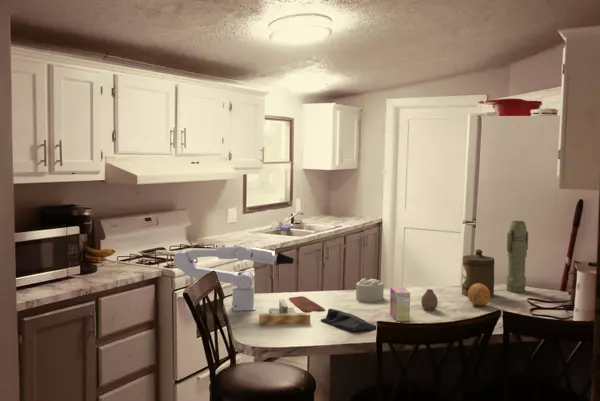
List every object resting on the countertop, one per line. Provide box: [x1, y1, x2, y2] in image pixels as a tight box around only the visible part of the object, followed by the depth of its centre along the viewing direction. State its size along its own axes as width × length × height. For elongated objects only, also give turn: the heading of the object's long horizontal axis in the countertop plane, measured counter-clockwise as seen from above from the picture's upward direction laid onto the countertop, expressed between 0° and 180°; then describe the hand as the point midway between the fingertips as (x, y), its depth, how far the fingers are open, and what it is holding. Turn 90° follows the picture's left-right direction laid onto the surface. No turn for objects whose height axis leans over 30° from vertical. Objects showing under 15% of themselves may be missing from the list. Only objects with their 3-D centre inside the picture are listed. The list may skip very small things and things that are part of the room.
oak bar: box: [258, 312, 311, 327], centre depth 219 cm, size 20×3×4 cm, turn 98°
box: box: [389, 286, 411, 322], centre depth 228 cm, size 10×6×12 cm, turn 5°
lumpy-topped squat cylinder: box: [355, 277, 385, 302], centre depth 260 cm, size 10×13×9 cm
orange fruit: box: [467, 283, 491, 307], centre depth 248 cm, size 10×10×10 cm
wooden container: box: [461, 249, 495, 298], centre depth 268 cm, size 15×15×22 cm
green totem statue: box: [505, 220, 529, 294], centre depth 276 cm, size 9×12×35 cm
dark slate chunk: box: [320, 308, 377, 332], centre depth 219 cm, size 15×22×5 cm
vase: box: [421, 288, 439, 312], centre depth 241 cm, size 7×7×9 cm
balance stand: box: [269, 298, 296, 314], centre depth 231 cm, size 10×14×5 cm
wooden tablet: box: [288, 295, 326, 313], centre depth 248 cm, size 27×10×2 cm, turn 19°
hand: (293, 260), depth 239 cm, fingers open, 7 cm apart
